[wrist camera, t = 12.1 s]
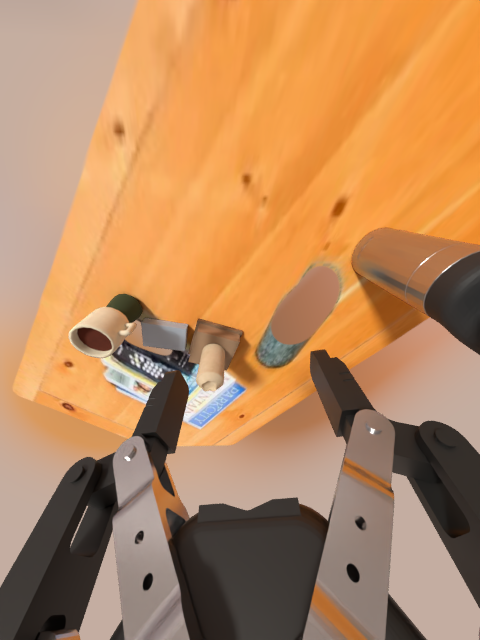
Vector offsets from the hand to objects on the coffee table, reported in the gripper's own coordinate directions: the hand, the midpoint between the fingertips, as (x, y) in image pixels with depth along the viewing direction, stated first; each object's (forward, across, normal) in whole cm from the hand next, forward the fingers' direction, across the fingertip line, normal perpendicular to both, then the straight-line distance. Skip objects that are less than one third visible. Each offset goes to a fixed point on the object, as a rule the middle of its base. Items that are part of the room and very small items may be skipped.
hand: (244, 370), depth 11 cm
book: (+29, +21, +16) cm, 39 cm away
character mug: (+30, +26, +7) cm, 40 cm away
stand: (+29, +10, +21) cm, 38 cm away
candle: (+26, +10, +21) cm, 34 cm away
